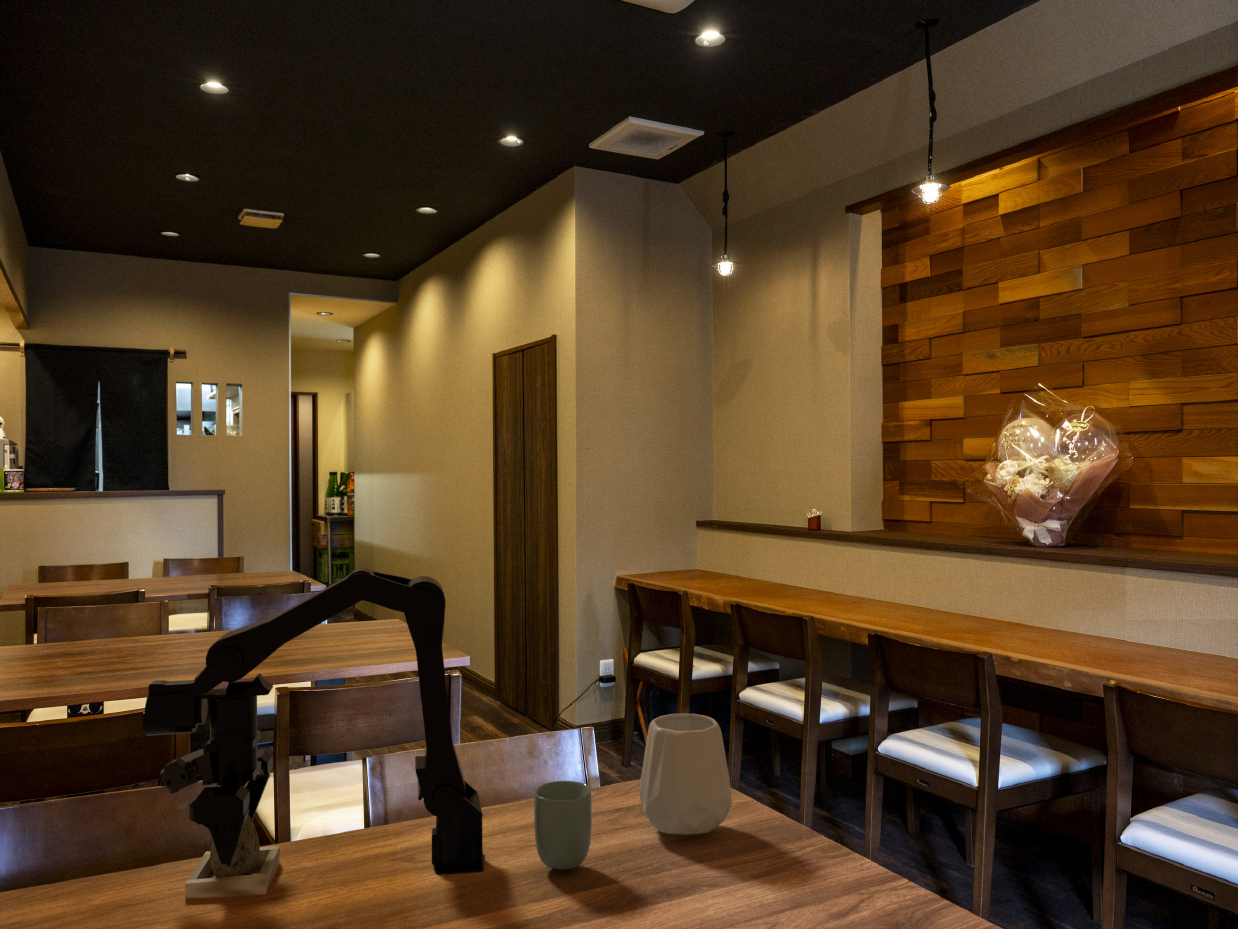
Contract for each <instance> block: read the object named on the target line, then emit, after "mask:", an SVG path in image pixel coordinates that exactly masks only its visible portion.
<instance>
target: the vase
mask: <svg viewBox="0 0 1238 929" xmlns="http://www.w3.org/2000/svg"><path fill="white" fill-rule="evenodd" d="M721 729H722V728H721V727H720V725H719V723H718V721H717V720H715V719H714V718H712V717H710V716H708V715H704V714H698V713H687V712H686V713H682V712H681V713H670V714H665V715H660V716H658V717H656V718H654V719H652V720H651V722H650V723H649V725H648V730H647V737H646V742H645V750H644V757H643V762H642V770H641V776H640V781H639V800H640V803H641V806H642V808H643V814H644V816H645V817H646V818H647V819H648V820H649V822H650V824H651V826H652V827H653V828H654V829H656V830H658V831H660V832H662V833H664V834H668V835H699V834H707V833H709V832H710V831H713V829H716V827H718V826H720V825H721V824H722V823H723V822H725V820H726V819H727V817H728V815H729V812H730V811H731V808H732V806H733V800H732V790H731V780H730V779H731V778H730V774H729V773H730V772H729V768H728V762H727V757H726V750H725V746H724V739H723V738H724V737H723V734H722V730H721Z"/></svg>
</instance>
